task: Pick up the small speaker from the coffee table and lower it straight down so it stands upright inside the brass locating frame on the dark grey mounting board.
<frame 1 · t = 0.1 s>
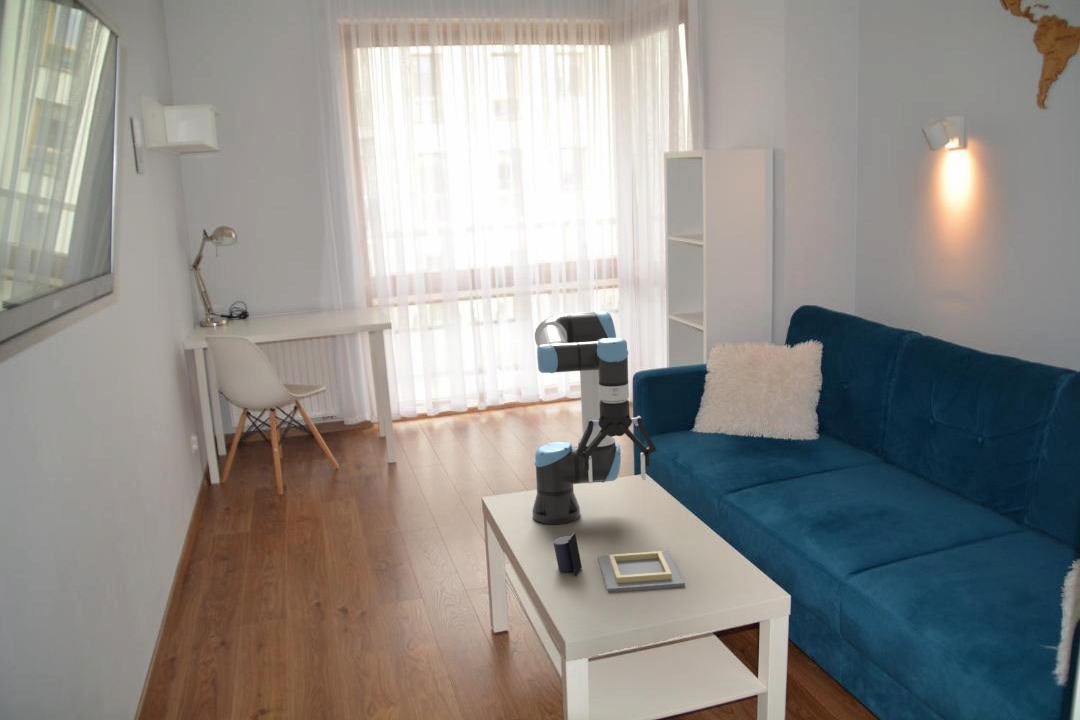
hand: (617, 480, 221), 28 cm above the table, tool pointing down, fingers open, 13 cm apart
mount board: (639, 572, 231), on the table
speaker: (567, 570, 235), on the table
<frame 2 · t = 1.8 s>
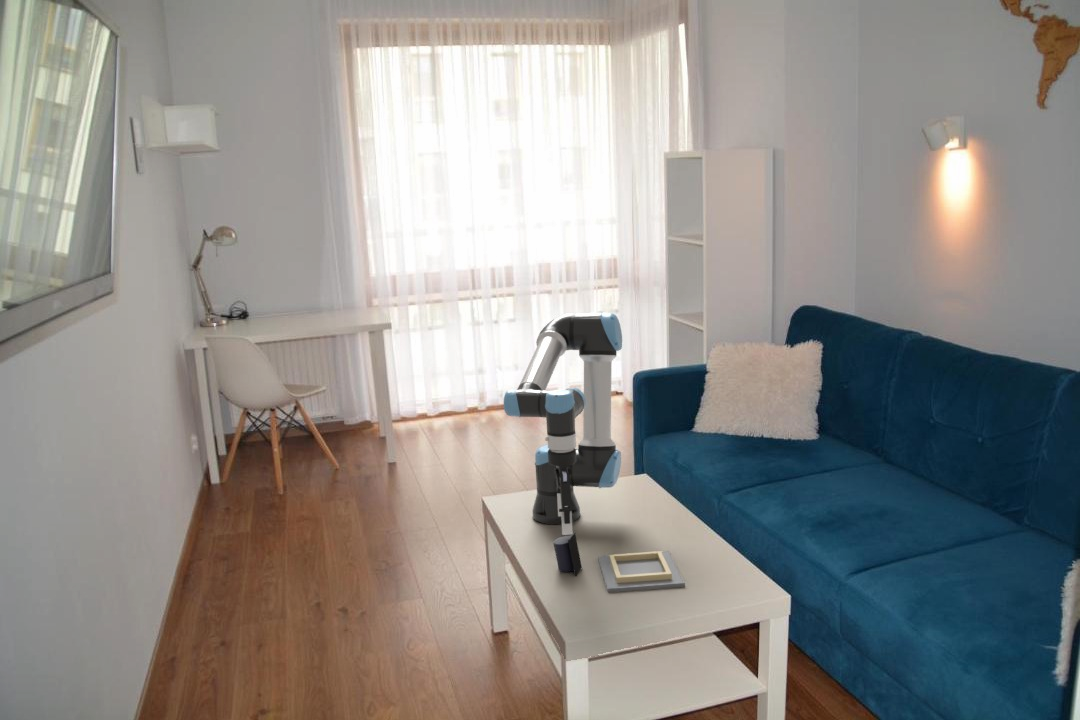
hand: (565, 524, 232), 13 cm above the table, tool pointing down, fingers open, 13 cm apart
nothing on the table moved.
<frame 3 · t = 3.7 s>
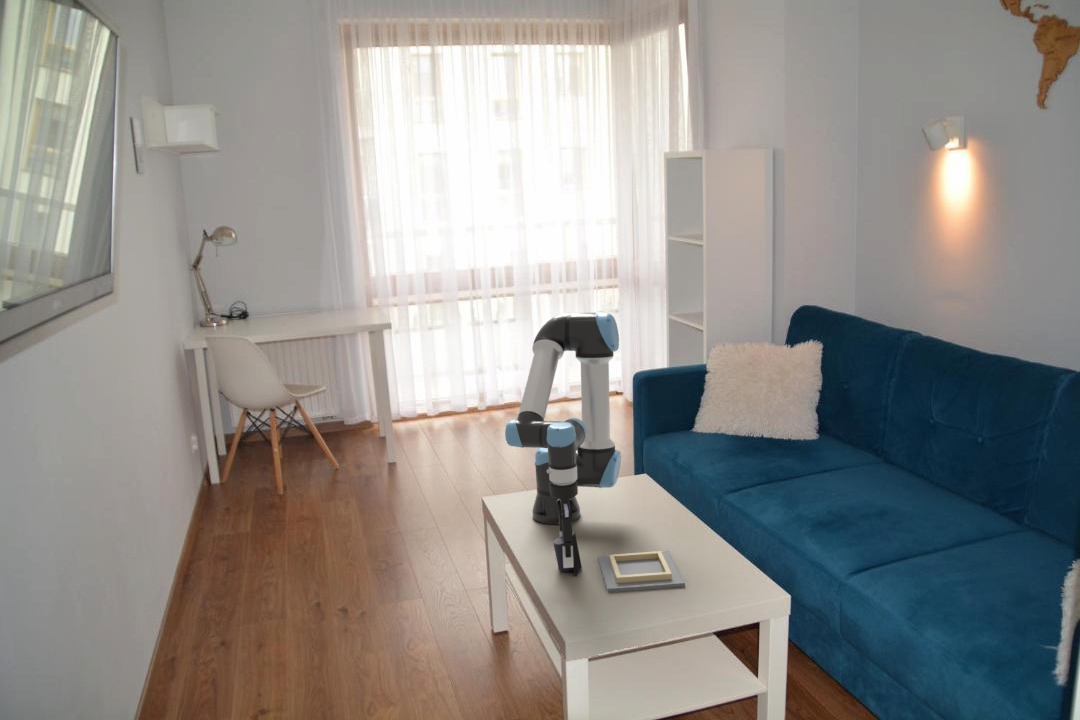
hand: (567, 560, 234), 3 cm above the table, tool pointing down, fingers closed on speaker, 8 cm apart
speaker: (567, 570, 235), on the table, touching gripper
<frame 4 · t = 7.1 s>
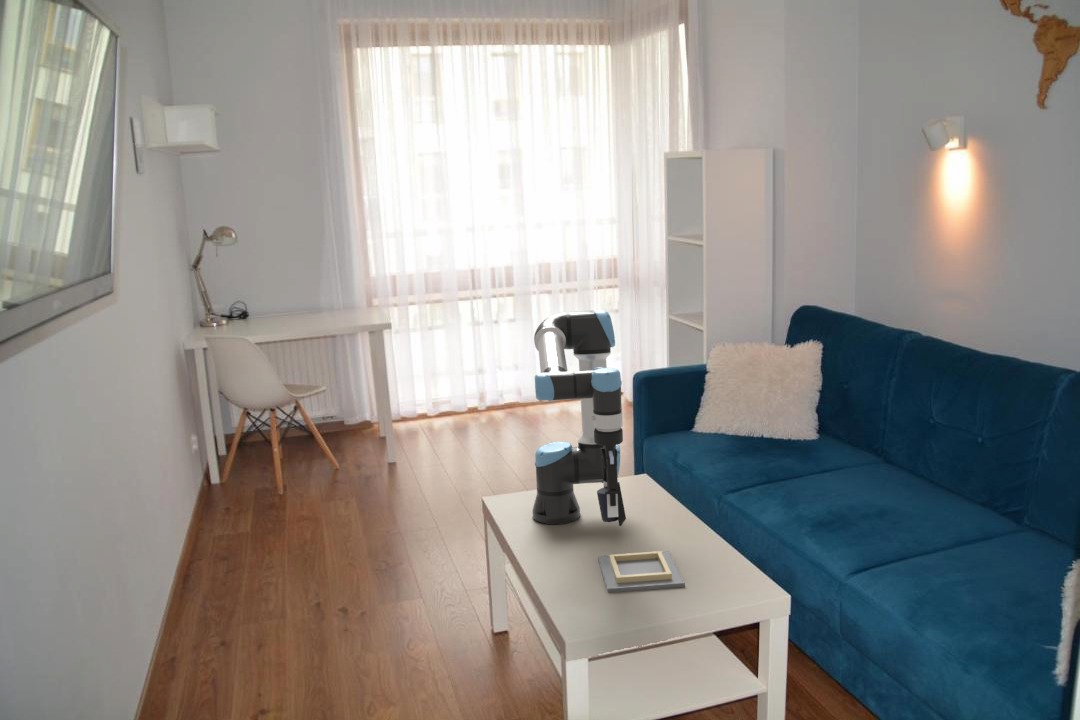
hand: (611, 510, 229), 18 cm above the table, tool pointing down, fingers closed on speaker, 8 cm apart
speaker: (611, 521, 229), point 15 cm above the table, touching gripper
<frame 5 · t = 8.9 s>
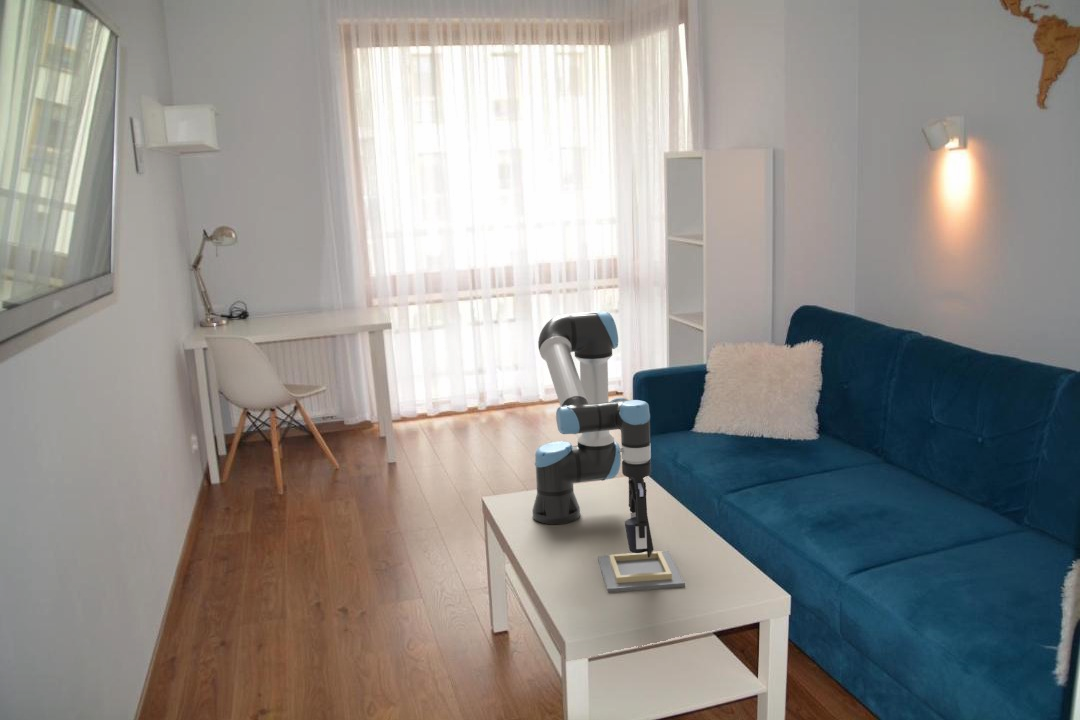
hand: (638, 541, 229), 9 cm above the table, tool pointing down, fingers closed on speaker, 8 cm apart
speaker: (639, 552, 230), point 6 cm above the table, touching gripper
when the fingers open (5 cm above the table, at t = 10.4 s): speaker drops 1 cm, resting on mount board.
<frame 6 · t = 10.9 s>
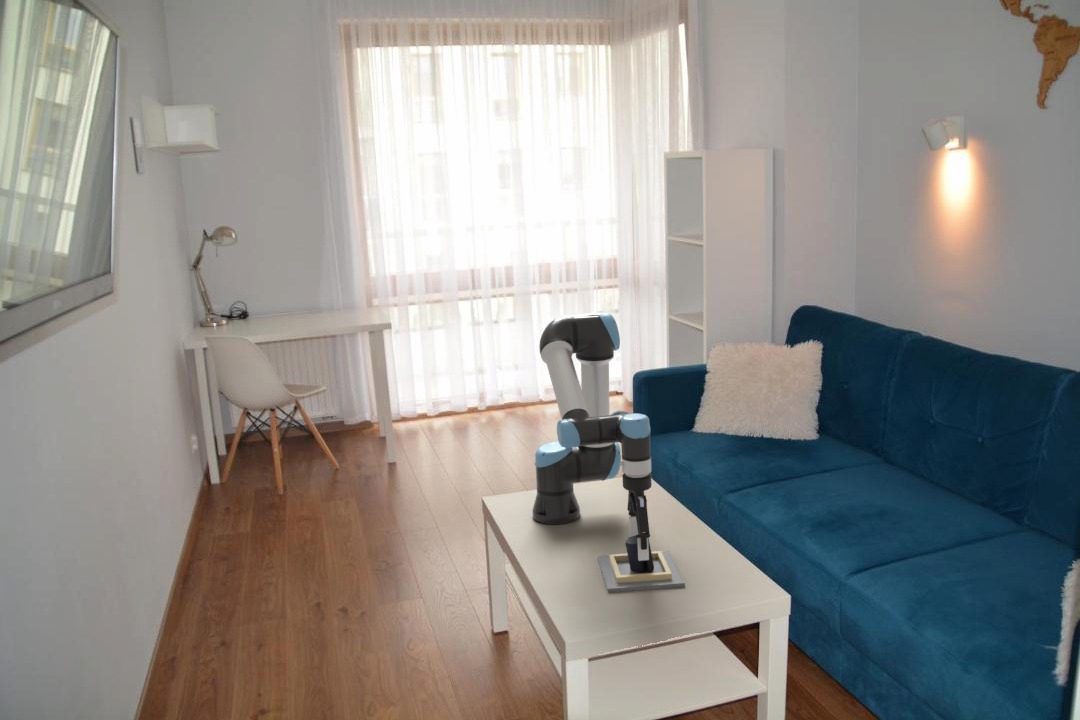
hand: (639, 549, 230), 7 cm above the table, tool pointing down, fingers open, 13 cm apart
speaker: (639, 570, 230), point 1 cm above the table, touching mount board
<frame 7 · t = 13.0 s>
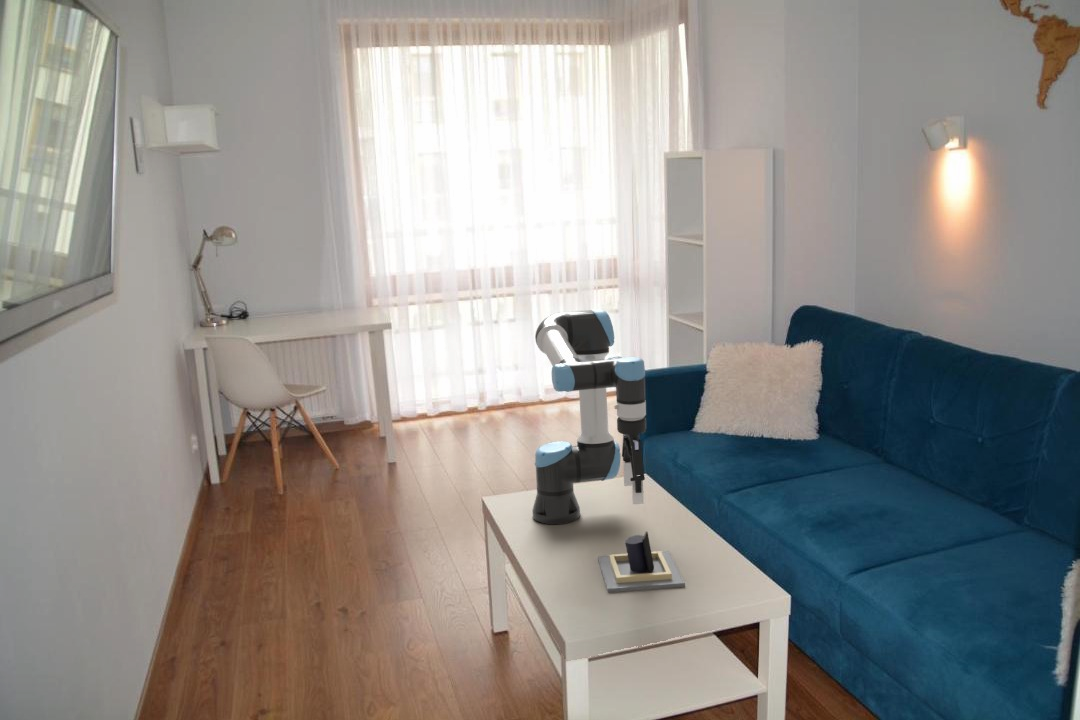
hand: (633, 494, 228), 22 cm above the table, tool pointing down, fingers open, 13 cm apart
nothing on the table moved.
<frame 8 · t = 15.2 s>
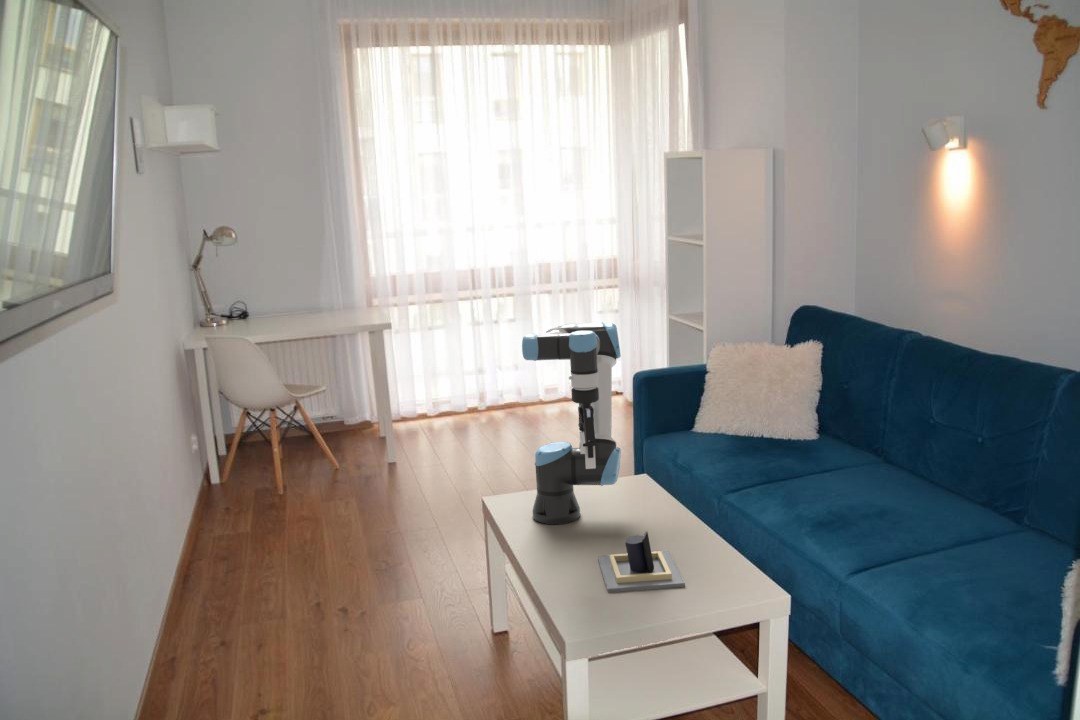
hand: (587, 460, 242), 27 cm above the table, tool pointing down, fingers open, 13 cm apart
nothing on the table moved.
at the end: speaker 0.4 cm off-centre on the mount board, point 0.8 cm above the mount board's base; speaker tilted 1°; the gripper is holding nothing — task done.
